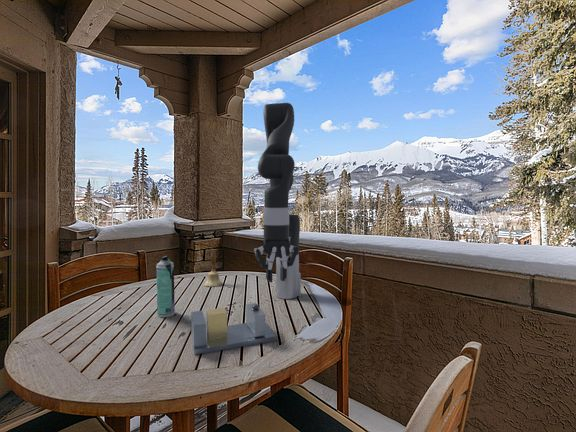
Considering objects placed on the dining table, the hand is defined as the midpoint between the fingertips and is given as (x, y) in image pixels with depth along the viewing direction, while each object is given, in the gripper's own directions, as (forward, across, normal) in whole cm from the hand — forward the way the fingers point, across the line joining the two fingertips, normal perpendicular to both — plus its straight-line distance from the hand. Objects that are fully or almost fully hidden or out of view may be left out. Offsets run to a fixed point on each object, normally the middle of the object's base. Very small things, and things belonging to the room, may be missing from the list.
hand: (276, 280), depth 90 cm
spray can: (+15, -31, +26) cm, 43 cm away
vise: (+15, -13, 0) cm, 20 cm away
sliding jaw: (+14, -6, 0) cm, 15 cm away
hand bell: (+15, -11, +58) cm, 61 cm away
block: (+14, -18, 0) cm, 22 cm away
